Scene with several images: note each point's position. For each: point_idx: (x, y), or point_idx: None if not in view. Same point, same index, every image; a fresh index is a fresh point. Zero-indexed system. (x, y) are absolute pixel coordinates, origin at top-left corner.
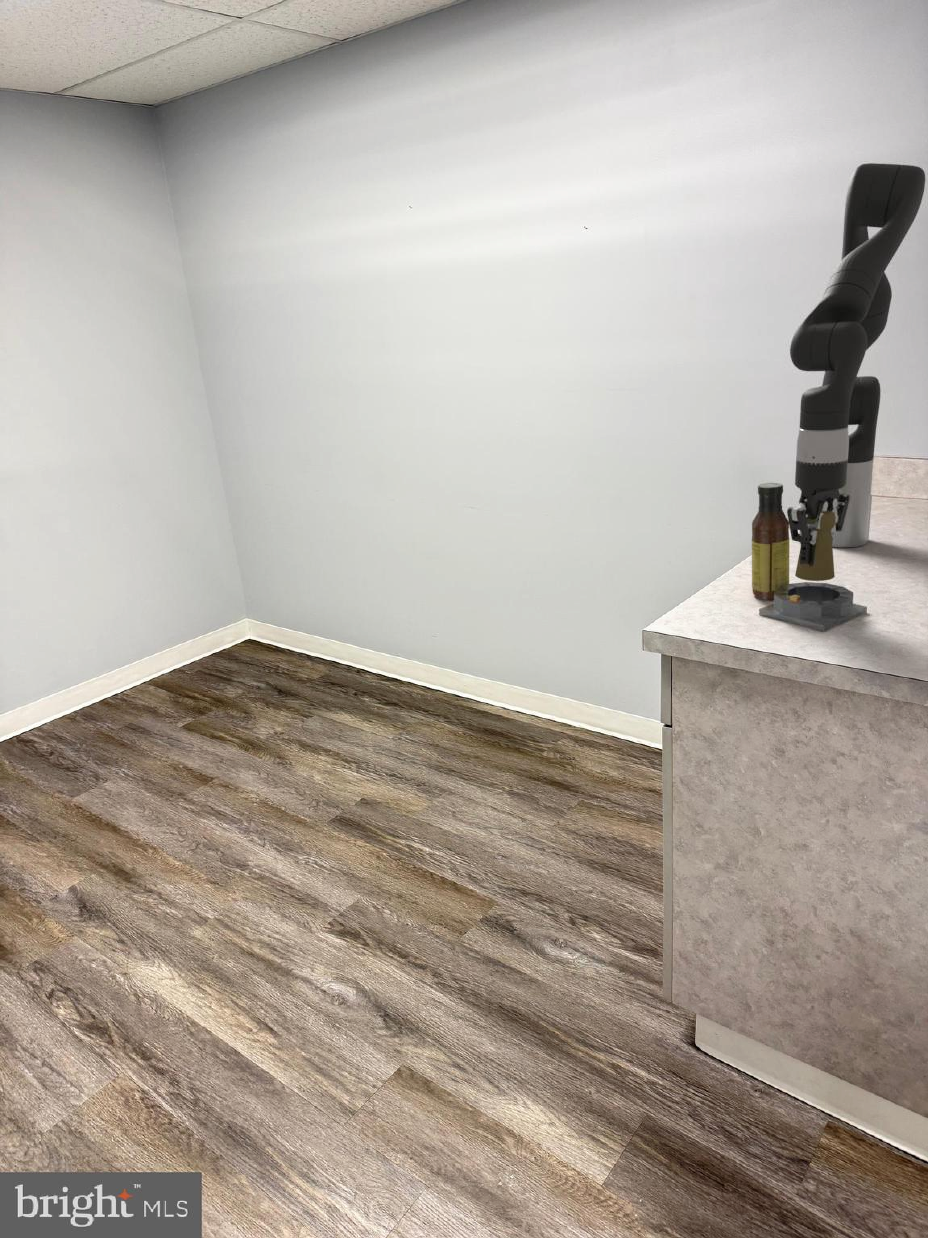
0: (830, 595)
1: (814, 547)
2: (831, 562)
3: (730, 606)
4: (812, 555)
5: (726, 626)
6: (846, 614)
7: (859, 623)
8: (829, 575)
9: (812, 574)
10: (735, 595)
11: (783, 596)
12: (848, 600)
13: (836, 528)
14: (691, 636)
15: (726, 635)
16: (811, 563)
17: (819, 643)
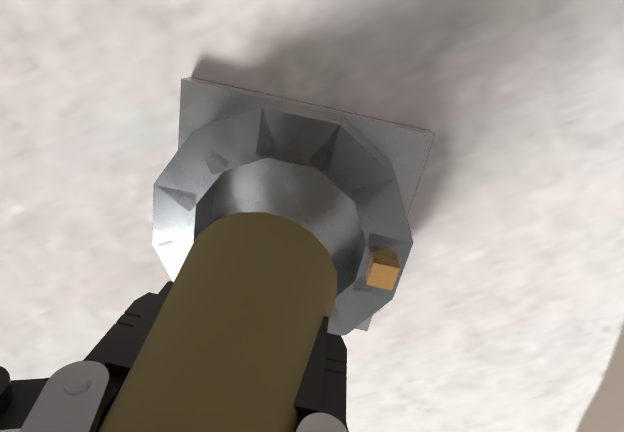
0: (204, 203)
1: (308, 390)
2: (245, 258)
3: None
4: (323, 356)
5: (486, 353)
6: (306, 107)
7: (299, 60)
8: (281, 227)
9: (330, 286)
10: None
11: (352, 308)
12: (290, 115)
13: (3, 403)
14: (588, 391)
15: (555, 334)
16: (326, 326)
17: (543, 105)
